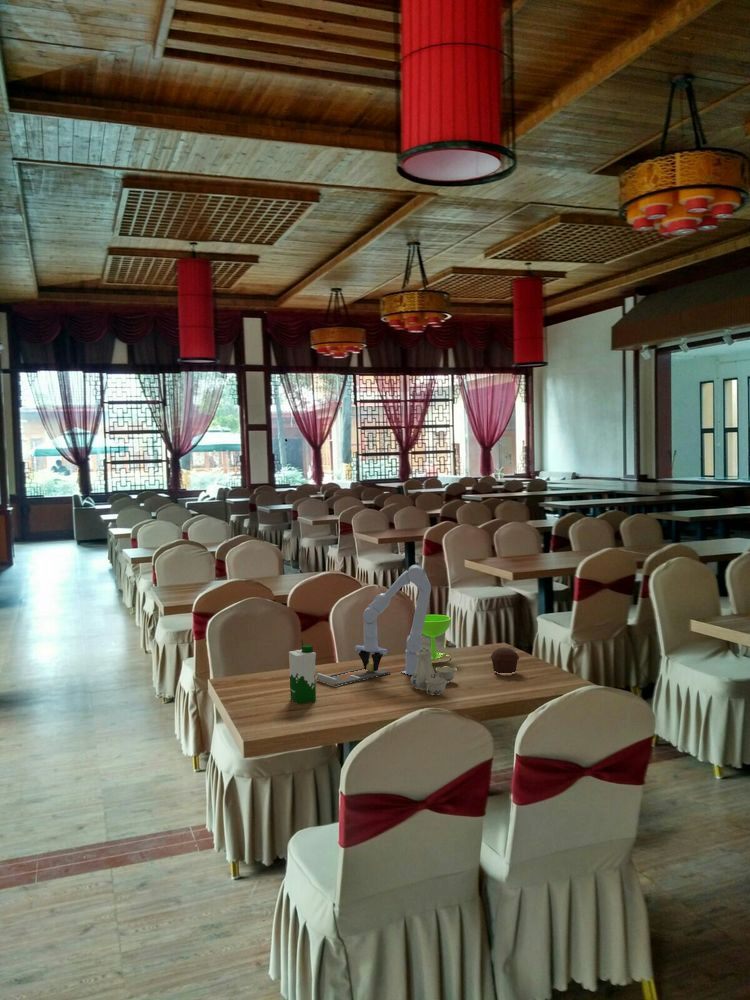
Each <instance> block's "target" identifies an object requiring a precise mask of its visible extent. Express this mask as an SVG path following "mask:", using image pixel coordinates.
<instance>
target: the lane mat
mask: <svg viewBox="0 0 750 1000" xmlns="http://www.w3.org/2000/svg"><path fill="white" fill-rule="evenodd" d="M362 669H364V667H360V668H355V669H352V670H351V669H350V670H346V671H343V672H338V673H333V674H328V675H327V674H326V675H325V674H323V673H321V672H318V673H316V681H317V680H319V681H322V682H325V683H328V684H331V685H333V686H338V685H341V684H345V683H350V682H354V681H359V680H363V679H367V678H371V679H373V678H372V677H376V676H380V675H384V674H388V673H390V674H391V671H390V670H387V671H386V670H384V669H380V671H378V670H377V671H374V672H369V671H366V673H360V675H358V674H357V673H355V675H350V676H352V677H350V678H349V679H348V678H347V679H344V680H341V678H340V679H339V678H337V675H341V674H345V673H348V672H354V671H358V670H362ZM388 675H389V674H388ZM333 676H336V677H333ZM384 676H385V675H384ZM380 677H381V676H380ZM376 678H377V677H376ZM367 680H368V679H367ZM363 681H364V680H363ZM359 682H360V681H359ZM333 686H332V687H333ZM338 687H339V686H338Z"/></svg>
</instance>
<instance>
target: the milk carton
mask: <svg viewBox="0 0 750 1000" xmlns="http://www.w3.org/2000/svg"><path fill="white" fill-rule="evenodd" d="M316 657H317V653H316V652H315V651H314V646H313V645H312V644H303V645H302V646H301V649H295V650H291V651H288V660H289V662H288V663H289V689H290V690H289V692H290V700H291V701H293V702H294V703H295V704H297V705H303V703H304V704H308V703H309V702H310V703H315V702H314V701H316V702H317V694H316V693H317V691H316V690H317V689H316V687H317V684H316V682H317V680H316Z"/></svg>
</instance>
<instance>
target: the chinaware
mask: <svg viewBox="0 0 750 1000" xmlns="http://www.w3.org/2000/svg"><path fill="white" fill-rule="evenodd" d="M432 653H433V652H431V650H429V649H428V648H427V647H426V646H425V645H422V647H421V650H420V651H418V652H416V654H417V666H416V669H415V672H414V673H413V675H412V676H411V677H410V682H411V684H412V685H413V688H414V687H415V688H417V689H420V690H419V691H426V693H427V695H431V696H433V694H434V695H438V694H441V693H443V692H444V691H445V690H446V686H447V684H449V683H448V681H449V682H452V680H453V679H454V678H455V676H456V672H457V667H450V666H447V665H445V666H442V667H436V668H435V669H434V667H433V664H432V661H431V657H432ZM415 688H414V689H415ZM417 689H416V690H417Z"/></svg>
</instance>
